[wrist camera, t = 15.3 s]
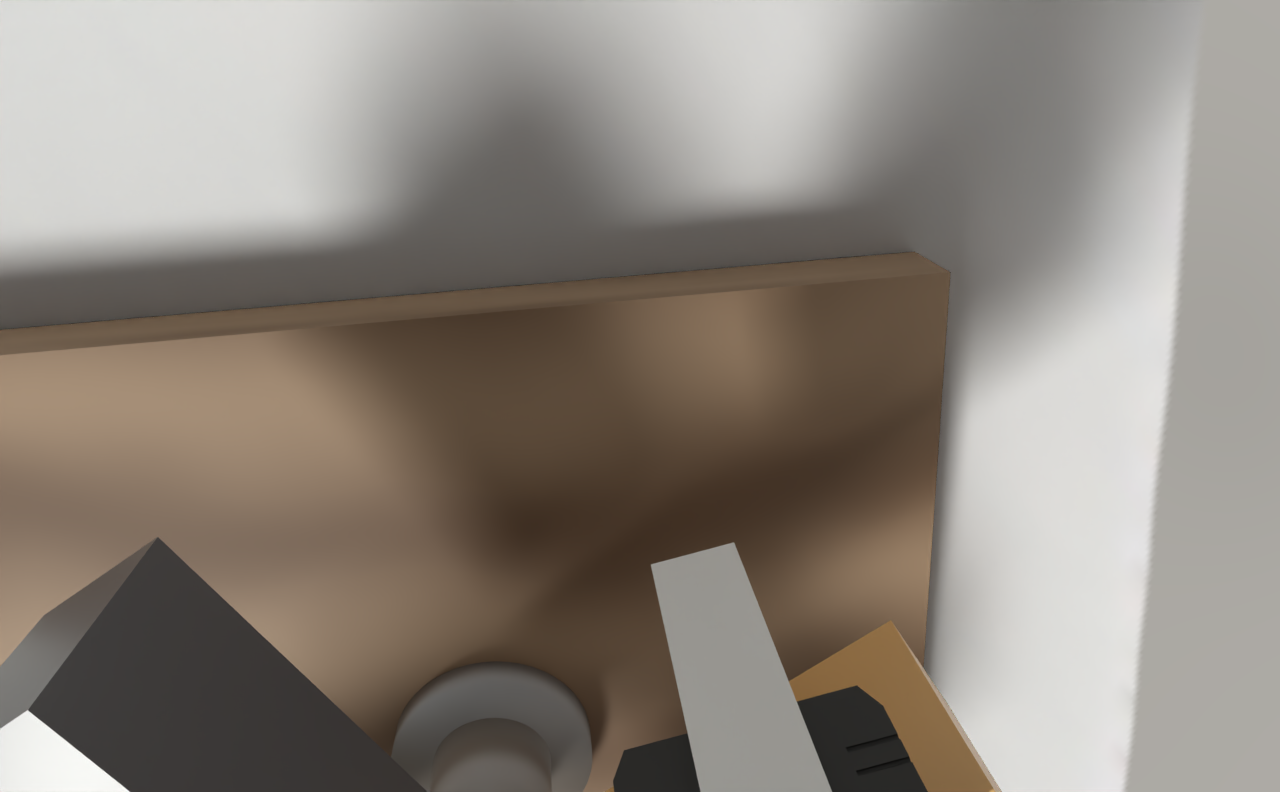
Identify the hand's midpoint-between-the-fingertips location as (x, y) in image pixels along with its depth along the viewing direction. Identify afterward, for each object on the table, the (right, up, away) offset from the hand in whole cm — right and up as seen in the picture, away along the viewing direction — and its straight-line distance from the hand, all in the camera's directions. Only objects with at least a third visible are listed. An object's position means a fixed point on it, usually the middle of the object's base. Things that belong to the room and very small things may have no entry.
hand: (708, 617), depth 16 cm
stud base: (-5, -4, +8) cm, 11 cm away
